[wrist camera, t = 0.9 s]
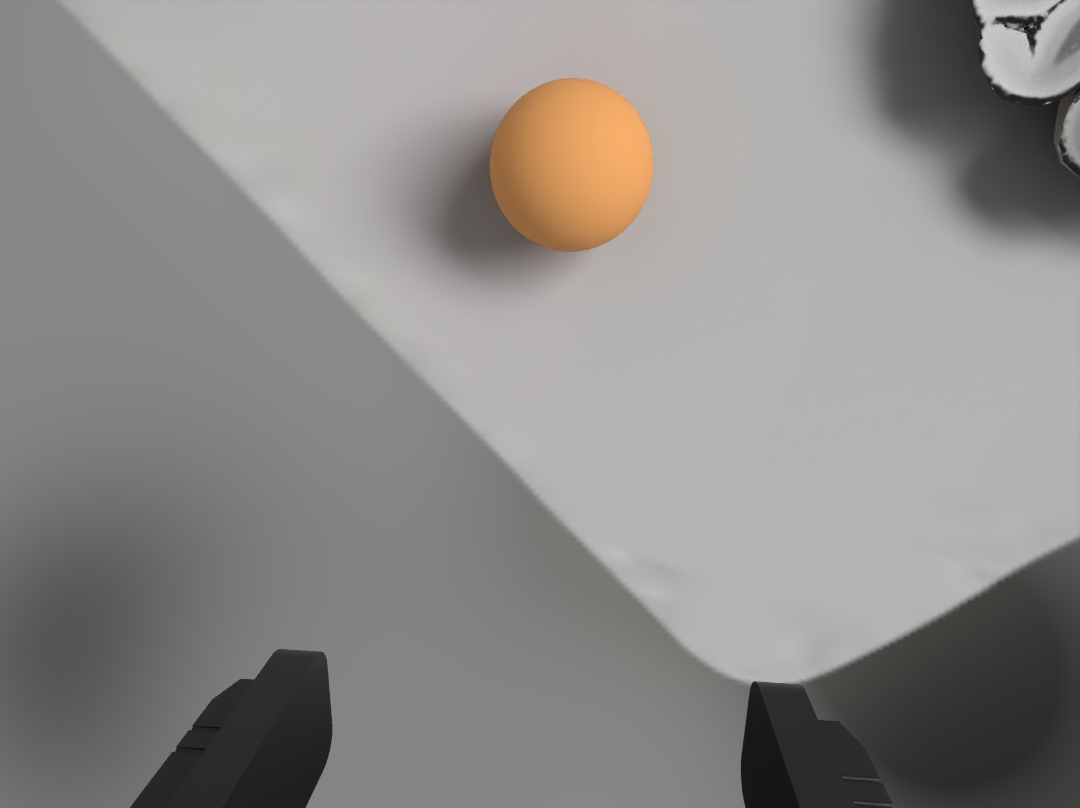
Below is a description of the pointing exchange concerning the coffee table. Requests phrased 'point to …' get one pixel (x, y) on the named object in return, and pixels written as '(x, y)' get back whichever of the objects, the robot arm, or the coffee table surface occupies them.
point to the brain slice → (1036, 61)
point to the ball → (571, 164)
